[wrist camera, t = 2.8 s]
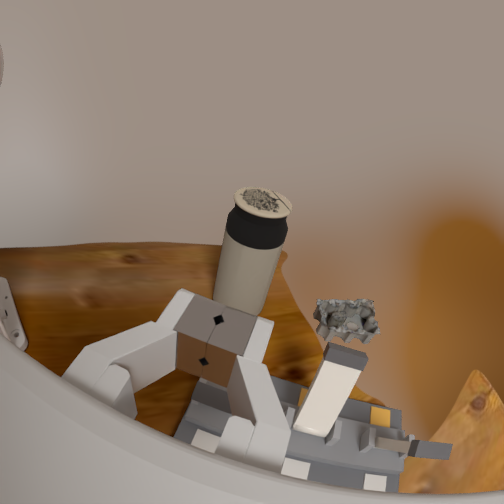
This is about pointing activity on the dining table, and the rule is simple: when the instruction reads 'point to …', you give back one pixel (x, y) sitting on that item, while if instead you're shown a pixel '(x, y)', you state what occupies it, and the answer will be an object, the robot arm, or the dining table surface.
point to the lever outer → (416, 448)
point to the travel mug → (251, 248)
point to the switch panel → (318, 440)
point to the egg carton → (346, 319)
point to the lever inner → (211, 397)
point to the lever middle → (329, 389)
